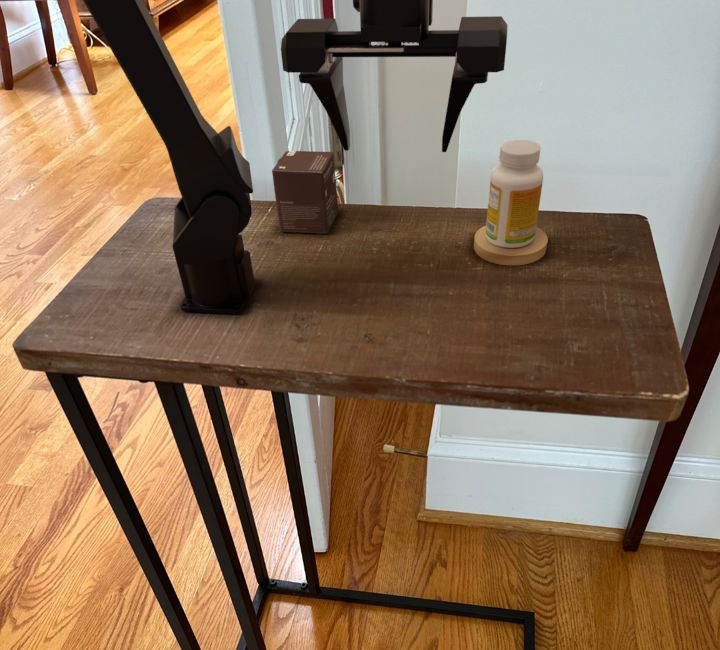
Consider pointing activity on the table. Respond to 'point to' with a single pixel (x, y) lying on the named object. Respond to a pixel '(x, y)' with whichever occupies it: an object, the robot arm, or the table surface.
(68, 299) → the table surface
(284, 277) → the table surface
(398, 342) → the table surface
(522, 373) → the table surface
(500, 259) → the coaster
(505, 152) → the supplement bottle
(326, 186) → the box
